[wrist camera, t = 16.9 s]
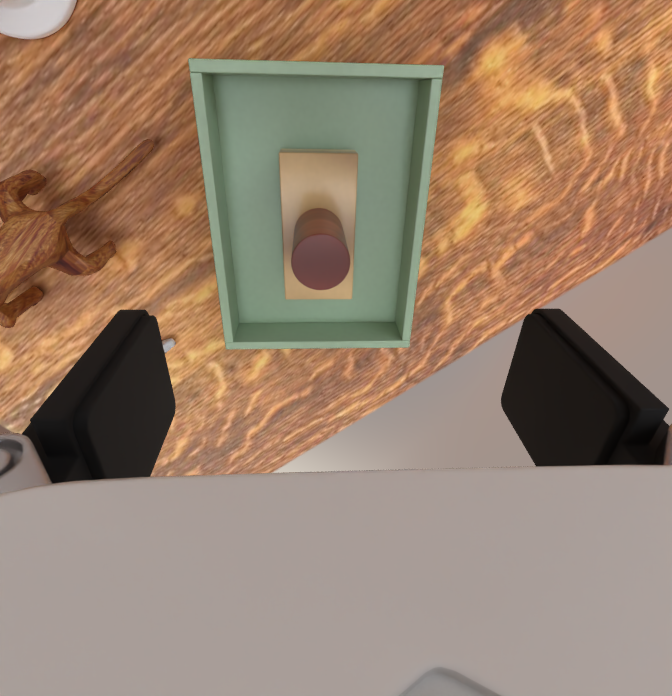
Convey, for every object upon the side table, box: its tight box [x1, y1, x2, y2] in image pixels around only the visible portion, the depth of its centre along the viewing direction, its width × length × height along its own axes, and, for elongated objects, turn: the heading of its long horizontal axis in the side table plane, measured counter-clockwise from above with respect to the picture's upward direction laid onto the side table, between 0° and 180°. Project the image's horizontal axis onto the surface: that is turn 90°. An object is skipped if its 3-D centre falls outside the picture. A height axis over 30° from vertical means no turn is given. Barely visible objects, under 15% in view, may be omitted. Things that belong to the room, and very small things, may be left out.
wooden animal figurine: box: [0, 139, 154, 328], centre depth 23 cm, size 18×7×14 cm, turn 127°
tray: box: [188, 58, 444, 349], centre depth 28 cm, size 17×13×4 cm
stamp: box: [279, 148, 358, 299], centre depth 25 cm, size 9×4×9 cm, turn 179°
